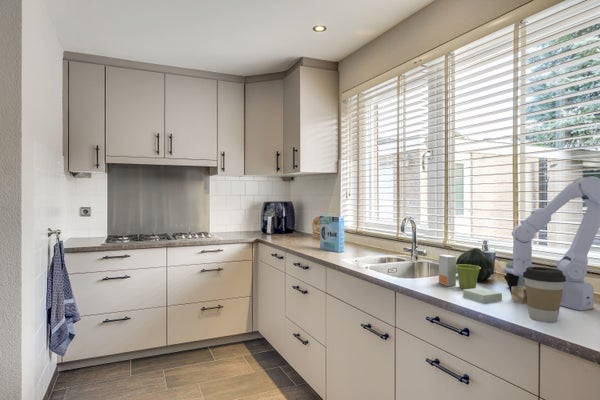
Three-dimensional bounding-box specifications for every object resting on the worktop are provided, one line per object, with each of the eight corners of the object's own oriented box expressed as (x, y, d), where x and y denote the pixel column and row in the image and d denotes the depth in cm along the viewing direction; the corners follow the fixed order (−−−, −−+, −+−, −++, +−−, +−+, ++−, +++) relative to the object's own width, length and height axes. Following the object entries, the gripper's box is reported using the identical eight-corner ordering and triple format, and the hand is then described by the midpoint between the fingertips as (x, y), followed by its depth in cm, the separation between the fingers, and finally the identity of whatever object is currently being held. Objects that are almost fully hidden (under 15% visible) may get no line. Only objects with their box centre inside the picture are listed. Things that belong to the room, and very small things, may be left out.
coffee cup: (548, 313, 124) (549, 266, 124) (575, 325, 113) (576, 273, 113) (513, 313, 124) (514, 266, 124) (536, 325, 113) (537, 273, 112)
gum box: (344, 252, 251) (344, 216, 251) (338, 252, 248) (338, 216, 248) (325, 248, 267) (325, 215, 267) (319, 249, 264) (319, 215, 264)
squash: (470, 262, 186) (460, 240, 179) (502, 268, 174) (492, 245, 167) (457, 284, 180) (446, 263, 173) (489, 293, 168) (478, 269, 161)
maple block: (531, 302, 137) (531, 288, 137) (522, 303, 135) (523, 289, 135) (519, 299, 141) (520, 285, 141) (511, 300, 139) (511, 286, 139)
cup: (503, 288, 157) (503, 263, 157) (508, 285, 163) (509, 261, 163) (524, 291, 152) (525, 266, 152) (529, 288, 157) (530, 263, 157)
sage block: (501, 301, 139) (501, 293, 139) (483, 304, 135) (483, 295, 135) (480, 295, 147) (480, 287, 147) (463, 297, 143) (463, 289, 143)
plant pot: (481, 287, 159) (482, 265, 159) (479, 291, 151) (479, 269, 151) (457, 284, 164) (457, 263, 164) (453, 288, 156) (453, 267, 155)
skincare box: (438, 282, 166) (438, 254, 165) (446, 282, 167) (447, 254, 167) (447, 286, 160) (447, 257, 160) (456, 285, 161) (456, 256, 161)
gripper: (496, 256, 143) (495, 293, 143) (534, 263, 129) (533, 303, 130) (509, 255, 146) (509, 291, 146) (548, 261, 132) (547, 301, 132)
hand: (521, 297), depth 138 cm, fingers open, 5 cm apart
